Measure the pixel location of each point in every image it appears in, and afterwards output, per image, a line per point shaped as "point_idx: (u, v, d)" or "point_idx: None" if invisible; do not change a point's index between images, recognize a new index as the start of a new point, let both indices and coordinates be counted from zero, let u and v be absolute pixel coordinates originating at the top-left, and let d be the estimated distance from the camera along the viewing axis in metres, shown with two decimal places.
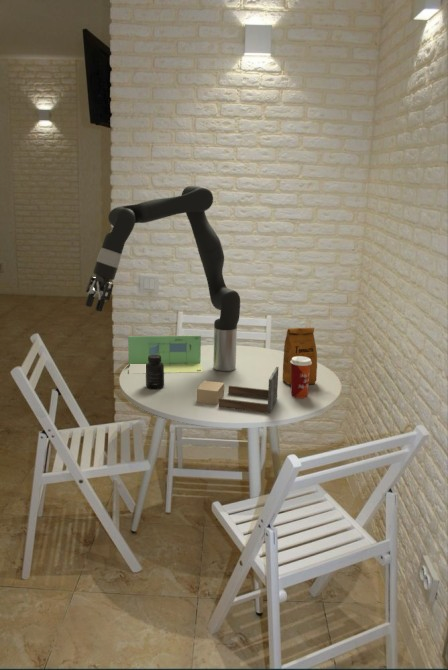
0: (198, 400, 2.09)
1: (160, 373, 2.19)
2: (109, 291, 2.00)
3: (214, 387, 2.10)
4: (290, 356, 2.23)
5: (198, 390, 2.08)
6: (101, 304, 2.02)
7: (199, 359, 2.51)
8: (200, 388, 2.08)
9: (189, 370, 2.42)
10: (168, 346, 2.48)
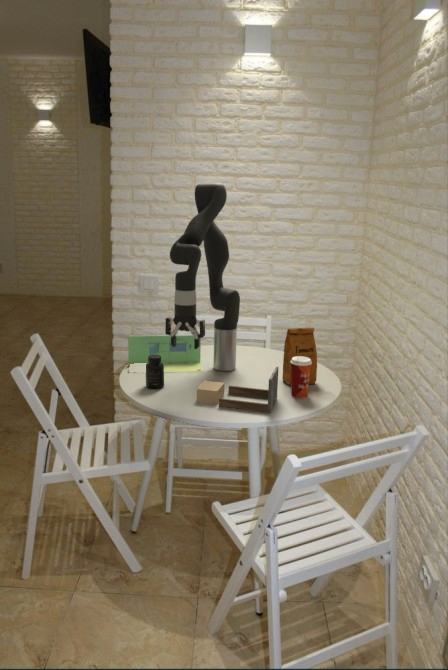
0: (198, 400, 2.09)
1: (160, 373, 2.19)
2: (204, 328, 2.07)
3: (214, 387, 2.10)
4: (290, 356, 2.23)
5: (198, 390, 2.08)
6: (198, 342, 2.08)
7: (199, 359, 2.52)
8: (200, 388, 2.08)
9: (189, 369, 2.42)
10: (168, 346, 2.49)
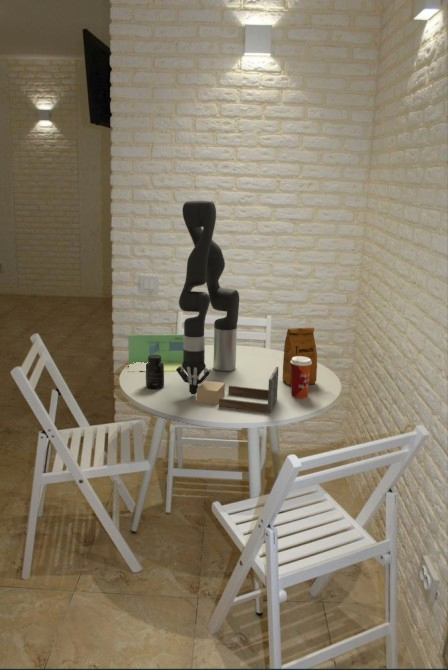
0: (198, 400, 2.09)
1: (160, 373, 2.19)
2: None
3: (214, 387, 2.10)
4: (290, 356, 2.23)
5: (198, 390, 2.08)
6: (197, 387, 2.13)
7: None
8: (200, 388, 2.09)
9: None
10: (168, 345, 2.50)
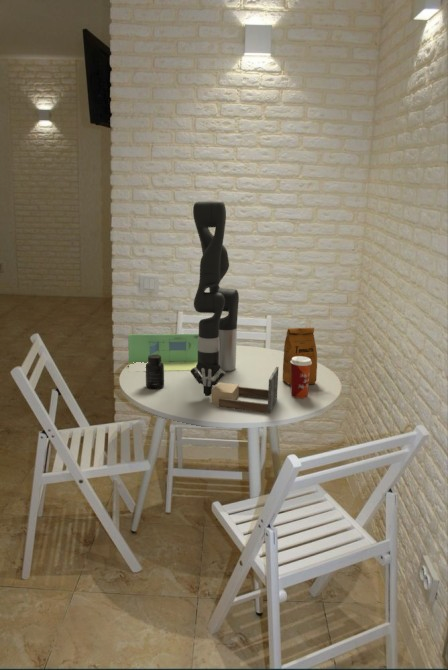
0: (213, 402, 2.08)
1: (160, 373, 2.19)
2: None
3: (229, 389, 2.09)
4: (290, 356, 2.23)
5: (213, 392, 2.07)
6: (211, 389, 2.11)
7: None
8: (215, 390, 2.07)
9: (188, 368, 2.44)
10: (168, 344, 2.50)
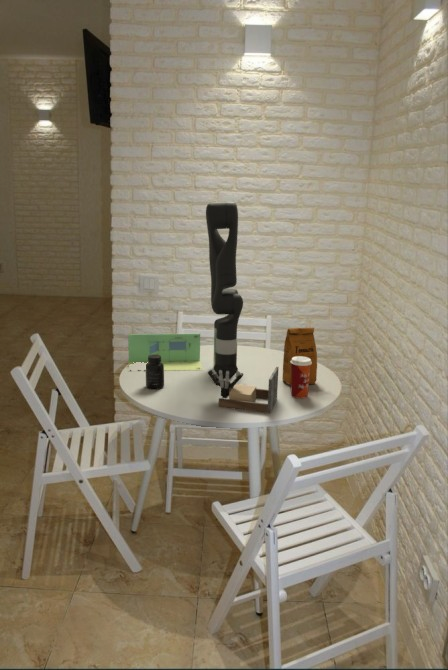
0: None
1: (160, 373, 2.19)
2: None
3: (247, 391, 2.07)
4: (290, 356, 2.23)
5: (231, 394, 2.05)
6: (228, 391, 2.10)
7: (198, 357, 2.54)
8: (233, 392, 2.06)
9: (188, 368, 2.44)
10: (168, 344, 2.51)
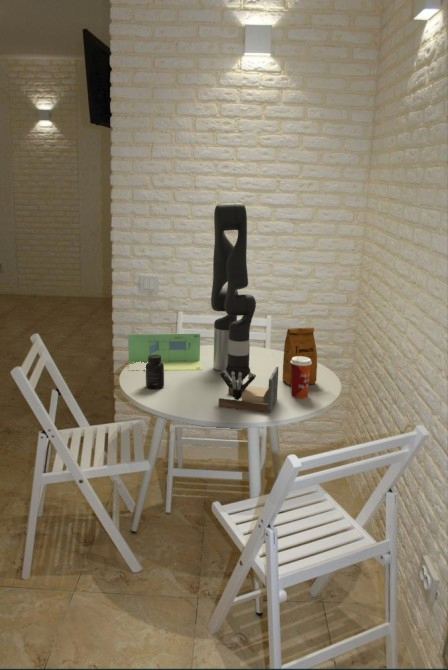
0: None
1: (160, 373, 2.19)
2: None
3: (259, 392, 2.06)
4: (290, 356, 2.23)
5: (243, 395, 2.04)
6: (241, 392, 2.09)
7: (198, 357, 2.54)
8: (245, 393, 2.05)
9: (188, 367, 2.45)
10: (168, 344, 2.51)
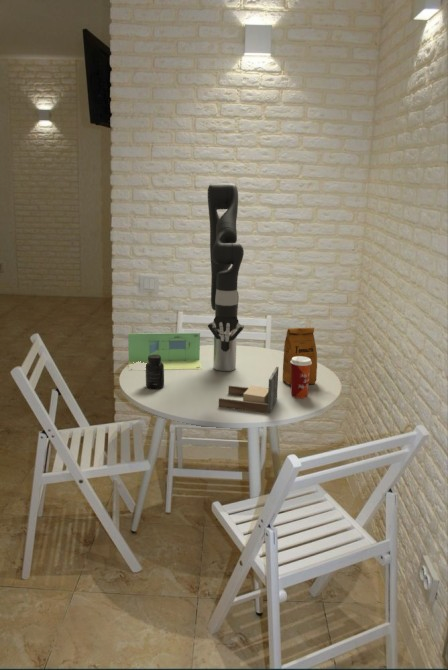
0: None
1: (160, 373, 2.19)
2: None
3: (261, 392, 2.06)
4: (290, 356, 2.23)
5: (245, 395, 2.04)
6: (229, 344, 2.05)
7: (198, 356, 2.55)
8: (247, 393, 2.05)
9: (188, 367, 2.46)
10: (168, 343, 2.52)
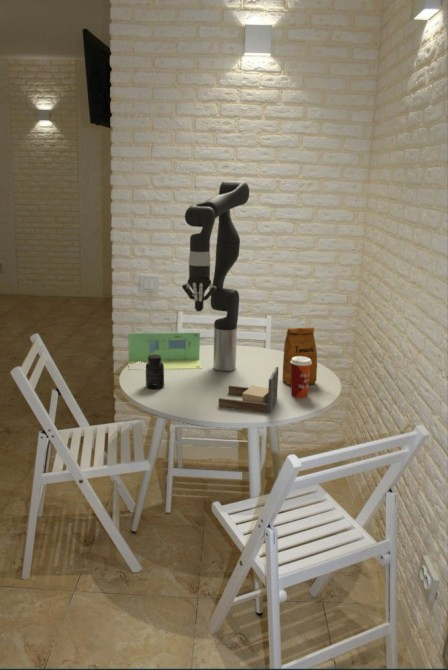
0: None
1: (160, 373, 2.19)
2: (211, 293, 2.15)
3: (261, 392, 2.06)
4: (290, 356, 2.23)
5: (244, 394, 2.05)
6: (202, 304, 2.16)
7: (198, 356, 2.56)
8: (246, 392, 2.05)
9: (188, 366, 2.46)
10: (167, 343, 2.52)
